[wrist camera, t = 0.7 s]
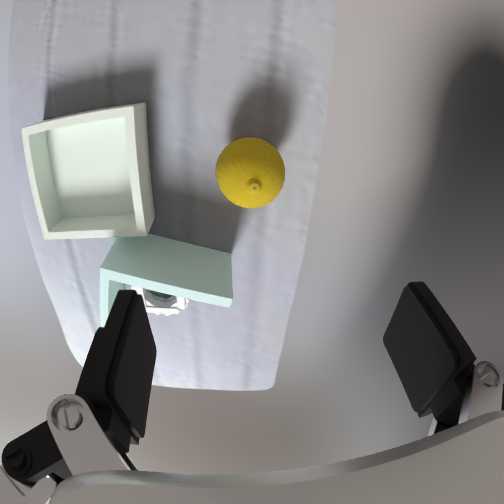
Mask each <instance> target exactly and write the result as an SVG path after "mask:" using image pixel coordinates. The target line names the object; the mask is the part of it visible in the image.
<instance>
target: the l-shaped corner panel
mask: <svg viewBox="0 0 504 504" xmlns="http://www.w3.org/2000/svg"><path fill="white" fill-rule="evenodd" d="M125 284H128V285H132V286H131V288H132V289H133V290H136V291H137V294H141V295H142V297H143V300H144V304H145V307H146V312H149V313H155V314H157V315H159V314H160V313H163V314H164V315H166V316H169V315H170V314H179V312H180V311H181V309H185V308H186V307H188V302H190V300H189V299H191V300H196V301H200V302H205V303H210V304H214V305H219V306H224V307H229V308H230V305H231V303H232V300H233V289H232V262H231V253H227V252H223V251H218V250H214V249H210V248H206V247H202V246H198V245H194V244H190V243H185V242H181V241H177V240H173V239H169V238H165V237H161V236H157V235H153V234H149V233H148V234H147V236H136V237H117V239H116V240H115V242H114V244H113V246H112V247H111V249H110V251H109V253H108V254H107V256H106V258H105V260H104V262H103V263H102V265H101V267H100V327H104V326H105V323H106V321H107V318H108V315H109V313H110V310H111V308H112V305H113V303H114V300H115V297H116V295H117V292H118V291H119V290H124V289H125ZM149 290H152V291H157V292H161V293H165V294H169V295H173V296H171V297H169V298H162V297H158V296H154V295H153V294H152V293H151V292H150V291H149Z"/></svg>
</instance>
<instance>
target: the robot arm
mask: <svg viewBox="0 0 504 504" xmlns="http://www.w3.org/2000/svg"><path fill="white" fill-rule="evenodd" d="M383 342H384V345H385V347H386V349H387V351H388V354H389V356H390V358H391V360H392V362H393V364H394V367H395V369H396V371H397V373H398V375H399V378H400V380H401V382H402V384H403V387H404V389H405V391H406V393H407V396H408V398H409V401H410V403H411V405H412V408H413V410H414V411H416V412H417V413H418V416H419V418H420V417H423V416H426V415H429V414H431V413H433V415H434V418H433V421H432V425H431V428H430V431H429V434H428V437H425V438H423V439H420V440H417V441H414V442H411V443H408V444H405V445H402V446H399V447H396V448H392V449H389V450H385V451H382V452H378V453H375V454H371V455H367V456H363V457H359V458H354V459H350V460H346V461H340V462H335V463H330V464H325V465H319V466H313V467H306V468H299V469H292V470H284V471H273V472H262V473H247V474H246V473H245V474H181V473H180V474H179V473H164V472H147V471H139V469H138V468H137V467H136V465H135V464H134V463H133V461H132V460H131V458H130V457H129V456H128V454H127V452H129V446H130V444H136V445H138V444H139V438H143V437H144V434H145V428H146V419H147V411H148V404H149V398H150V391H151V385H152V378H153V372H154V366H155V360H156V345H155V342H154V338H153V335H152V331H151V327H150V324H149V320H148V316H147V312H146V308H145V304H144V300H143V297H142V295H141V294H137V291H136V290H119V291H118V292H117V295H116V297H115V300H114V303H113V305H112V308H111V310H110V313H109V315H108V318H107V321H106V323H105V326H104V327H99V328H98V329H97V331H96V333H95V336H94V339H93V341H92V344H91V347H90V350H89V352H88V355H87V358H86V361H85V364H84V367H83V370H82V373H81V376H80V379H79V382H78V386H77V389H76V393H75V395H74V394H64V395H62V396H59V397H57V398H56V399H54V400H53V402H52V403H51V404H50V406H49V408H48V410H47V420H46V421H45V422H43V423H41V424H40V425H38V426H36V427H35V428H33V429H31V430H30V431H28V432H26V433H25V434H23V435H21V436H19V437H18V438H16V439H14V440H13V441H11V442H10V443H8V444H7V445H6V446H5V448H4V450H3V453H2V465H1V466H0V504H45V503H46V501H47V500H48V499H49V498H50V497H51V499H50V502H49V504H504V384H503V378H502V374H501V372H500V370H499V369H498V367H497V366H495V365H494V364H493V363H491V362H489V361H480V362H478V363H477V364H476V366H475V365H474V361H475V360H476V357H475V355H474V354H473V352H472V351H471V349H470V347H469V346H468V344H467V343H466V341H465V340H464V338H463V336H462V335H461V333H460V332H459V330H458V329H457V327H456V326H455V324H454V323H453V321H452V320H451V319H450V317H449V316H448V314H447V313H446V311H445V310H444V309H443V307H442V306H441V304H440V303H439V302H438V300H437V299H436V297H435V296H434V295H433V293H432V292H431V291H430V289H429V288H428V287H427V285H426V284H425V283H424V282H422V281H421V282H410V283H408V285H407V286H406V287H405V288H404V289H403V292H402V294H401V297H400V299H399V302H398V304H397V307H396V309H395V311H394V313H393V316H392V318H391V320H390V323H389V325H388V327H387V329H386V332H385V334H384V336H383Z"/></svg>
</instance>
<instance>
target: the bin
mask: <svg viewBox="0 0 504 504" xmlns="http://www.w3.org/2000/svg"><path fill="white" fill-rule="evenodd" d="M21 130H22V138H23V145H24V152H25V158H26V164H27V169H28V175H29V180H30V184H31V189H32V194H33V198H34V202H35V206H36V210H37V214H38V218H39V221H40V225H41V229H42V232H43V235H44V239H45V240H48V239H73V238H102V237H136V236H147V234H148V232H149V230H150V228H151V226H152V223H153V221H154V219H155V209H154V200H153V191H152V181H151V170H150V158H149V144H148V127H147V104H146V102H145V103H136V104H128V105H120V106H113V107H107V108H101V109H95V110H89V111H84V112H79V113H74V114H69V115H64V116H60V117H56V118H51V119H47V120H43V121H40V122H38V123H35V124H32V125H29V126H27V127H24V128H21Z"/></svg>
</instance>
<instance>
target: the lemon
mask: <svg viewBox="0 0 504 504" xmlns="http://www.w3.org/2000/svg"><path fill="white" fill-rule="evenodd" d="M216 179H217V183H218V186H219V188H220V190H221V192H222V193H223V194H224V195H225V196H226V198H227V199H228V200H230V201H231V202H233V203H234V204H235V205H238V206H241V207H245V208H258V207H261V206H264V205H266V204H268V203H270V202H271V201H273V200H274V199H275V198H276V197H277V196H278V194H279V192H280V191H281V189H282V187H283V183H284V180H285V167H284V163H283V159H282V157H281V156H280V154H279V152H278V151H277V150H276V149H275V148H274V147H273V146H272V145H271V144H270V143H268V142H266V141H265V140H262V139H259V138H255V137H245V138H241V139H237V140H235V141H233V142H231V143H230V144H229V145H228V146H227V147H225V148H224V150H223V151H222V153H221V154H220V156H219V158H218V161H217V164H216Z"/></svg>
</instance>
